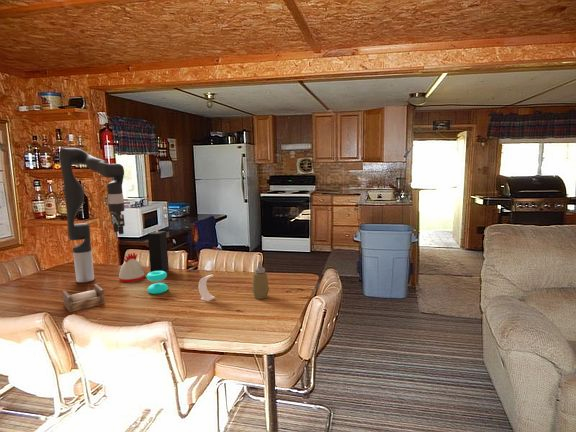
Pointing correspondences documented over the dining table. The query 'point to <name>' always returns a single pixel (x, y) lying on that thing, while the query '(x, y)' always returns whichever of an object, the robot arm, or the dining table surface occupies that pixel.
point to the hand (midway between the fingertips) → (118, 232)
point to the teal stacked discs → (157, 287)
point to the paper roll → (83, 296)
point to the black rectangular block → (158, 250)
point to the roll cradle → (84, 303)
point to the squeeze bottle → (260, 282)
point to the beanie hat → (131, 270)
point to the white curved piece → (205, 289)
